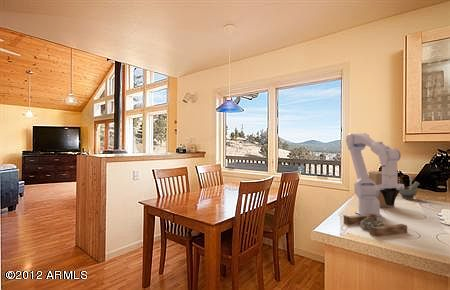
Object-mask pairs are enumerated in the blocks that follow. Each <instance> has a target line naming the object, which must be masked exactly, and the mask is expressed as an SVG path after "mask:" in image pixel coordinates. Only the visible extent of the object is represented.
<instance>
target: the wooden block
mask: <svg viewBox="0 0 450 290" xmlns="http://www.w3.org/2000/svg"><path fill="white" fill-rule="evenodd" d="M368 176H369V179H371V180H372V181H374V182H375V184H376V185H380V184H382V170H381V171H379V170H378V171H376V170H375V171H373V170H372V171H368ZM376 198H377V199H378V200H379V202H380V208H395V204H394V205H393V206H392V205H391V206H389V205H386V203H385V200H384V197H383V195H382V193H381V192H380V190H379V194H378V196H377V197H376Z"/></svg>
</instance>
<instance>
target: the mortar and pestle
mask: <svg viewBox="0 0 450 290" xmlns="http://www.w3.org/2000/svg"><path fill="white" fill-rule="evenodd" d="M419 185H421V184H420V182H418V181H414V183H412V185H411V186H410V187H408V186H404V189H401V188H400V189H397V190H400V192H399V194H400V195H401V199H403V200H407V201H408V200H410V201H411V200H414V197H415V196H416V195H417V193H418V189H417V188H418V186H419Z"/></svg>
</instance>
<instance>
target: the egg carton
mask: <svg viewBox="0 0 450 290" xmlns="http://www.w3.org/2000/svg"><path fill="white" fill-rule="evenodd" d="M358 224H360V229H362V230H368V229H369V231H370V228H369V226H373V227H380V226H385V221H383V220H380V219H377V221H375V219H374V218H372V217H370V216H367V217H366V218H365V219H364V220H362V221H361V222H360V223H358Z"/></svg>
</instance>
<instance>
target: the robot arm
mask: <svg viewBox="0 0 450 290" xmlns="http://www.w3.org/2000/svg"><path fill="white" fill-rule="evenodd" d="M345 141H346V146H347V149H348V150H349V152H350V157H351V160H352V164H353V167H354V170H355V174H356V178H357V180H356V181H355V182H354V184H353V185H354V186H353V187H354V194H355V195H356V197H357V198H358V210H357V211H354V213H355V214H358V215H366V214H375V215H377V217H379V216H382V214H381V209H380V208H381V207H380V202H379V200H378V199H377V198H376V197H377V196H378V194H379V190H380V192H381V193H382V195H383V197H384V200H385V203H386V205H389V206H391V205H392V206H393V205H394V206H395V202H396V199H397V196H399V194H400V193H399V192H400V190H398V189H400V188H401V189H404V187H405V184H404V183H398V161H400V160H401V158H402V155H401V152H400V150H399V149H398V148H391V147H390V146H388V145H386V144H385V143H384V142H383V141H375V140H374V139H373V138H371V137H370V135H369V134H367V132H366V133H365V132H364V133H348V134H347V136H346V138H345ZM366 147H369V148H370V151H371V152H372V153H374V154H375V155H377V156H378V159H379V161H380V165H381V171H382V184H380V185H376V184H375V182H374V181H372V180H371V179H369V172H368V170H367V168H366V163H365V160H364V157H363V154H362V151H363V150H365V148H366Z"/></svg>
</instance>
